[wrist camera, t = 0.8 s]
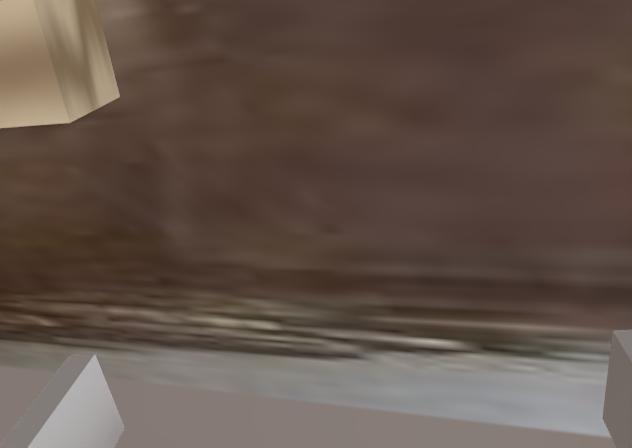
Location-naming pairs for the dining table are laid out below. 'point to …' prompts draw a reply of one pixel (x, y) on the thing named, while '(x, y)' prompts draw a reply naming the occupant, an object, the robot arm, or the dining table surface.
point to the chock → (52, 62)
